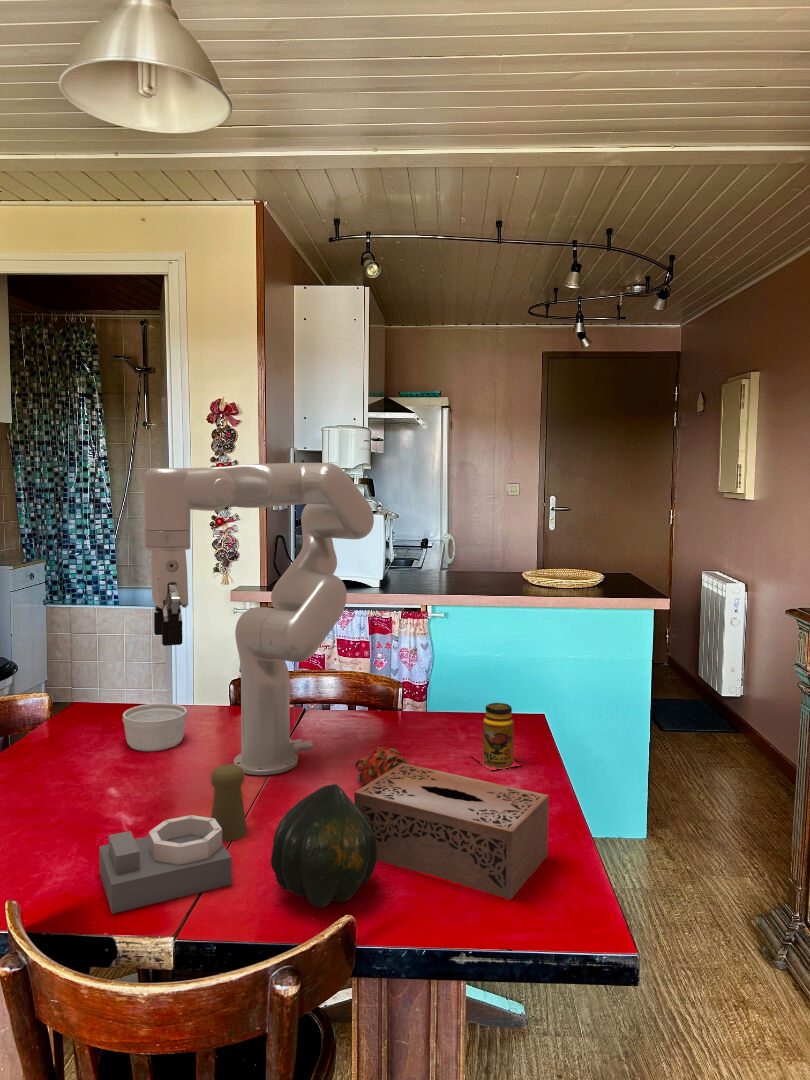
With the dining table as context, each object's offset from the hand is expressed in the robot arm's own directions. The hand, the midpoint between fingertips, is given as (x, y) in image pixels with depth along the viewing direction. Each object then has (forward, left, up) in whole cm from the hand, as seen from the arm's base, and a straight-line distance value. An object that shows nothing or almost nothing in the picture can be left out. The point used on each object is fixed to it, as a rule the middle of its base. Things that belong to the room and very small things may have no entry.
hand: (167, 639), depth 134 cm
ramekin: (-4, -34, -30) cm, 45 cm away
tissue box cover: (-34, +38, -30) cm, 59 cm away
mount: (+6, +25, -29) cm, 39 cm away
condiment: (-63, +9, -30) cm, 70 cm away
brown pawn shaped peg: (-6, +15, -30) cm, 34 cm away
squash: (-13, +38, -30) cm, 50 cm away
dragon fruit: (-36, +11, -30) cm, 48 cm away
